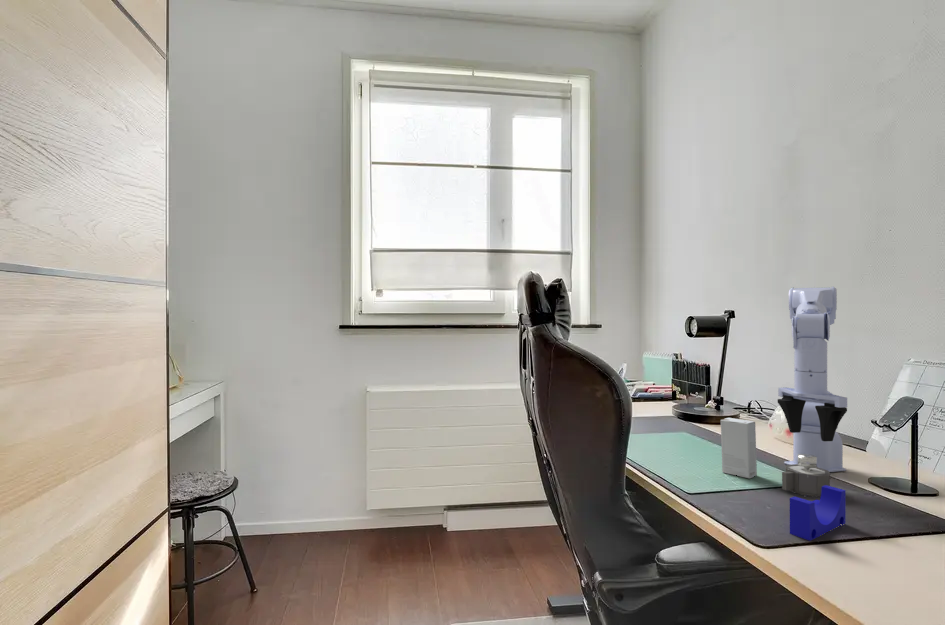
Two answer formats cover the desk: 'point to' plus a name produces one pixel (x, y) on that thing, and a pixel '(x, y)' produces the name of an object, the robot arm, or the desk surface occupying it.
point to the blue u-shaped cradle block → (818, 513)
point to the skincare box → (738, 447)
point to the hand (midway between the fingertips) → (810, 436)
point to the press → (805, 480)
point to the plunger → (807, 461)
